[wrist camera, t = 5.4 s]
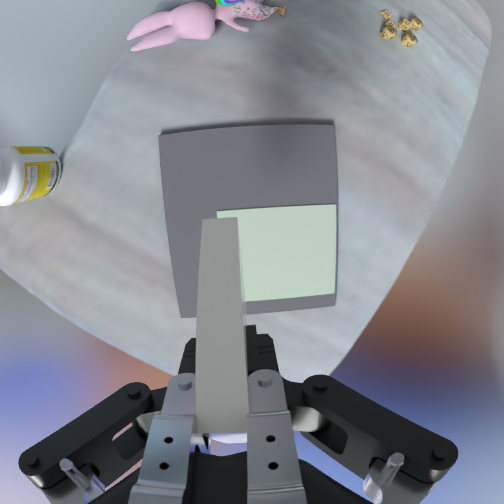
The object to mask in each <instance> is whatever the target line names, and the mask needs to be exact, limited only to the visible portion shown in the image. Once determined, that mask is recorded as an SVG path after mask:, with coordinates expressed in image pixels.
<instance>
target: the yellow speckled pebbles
mask: <svg viewBox="0 0 504 504" xmlns="http://www.w3.org/2000/svg"><path fill="white" fill-rule="evenodd" d="M381 15H382V16H383V17H384V18H385V19H388V18H391V17H392V16H391V15H390V13H389V12H388V11H387V10H386V11H383V12H381ZM385 25H386V27H385V28H384V29H382V30H381V31H380V34H381V36H382V37H383V38H384V39H386V40H390V39H392V38H393V37H394V36H396V35H397V32H396V30H395V29H394V27H396V25H395V24H394V23H393V22H391V21H390V20H389V21H388V22H387V23H385ZM422 26H423V24H422V21H421V20H420V19H419V18H416V17H413V18H412V19H411V20H409V21H407V20H406V19H405V18H404V19H403V20H402V21H400V22H398V27H399V29H400V30H403V31H407V30H408V29H409V28H410V29H412V30H414V31H416V30H418V29H420V28H421V27H422ZM401 40H402V43H403V44H404V45H405V46H406V47H412V46H413V45H415V44H416V43H417V42H418V41H417V38H416V36H414V35H413V34H412V33H407V34H406V35H405V36H403V37H402V39H401Z"/></svg>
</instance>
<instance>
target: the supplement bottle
mask: <svg viewBox="0 0 504 504" xmlns="http://www.w3.org/2000/svg"><path fill="white" fill-rule="evenodd" d="M60 175H61V163H60V159H59V157H58V155H57V153H56V152H55V151H54V150H53V149H51V148H49V147H4V148H2V149H0V205H2V206H6V205H11V204H15V203H18V202H22V201H26V200H30V199H34V198H38V197H42V196H45V195H48V194H50V193H51V192H52V191H53V190H54V189H55V188H56V186H57V185H58V182H59V180H60Z"/></svg>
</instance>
